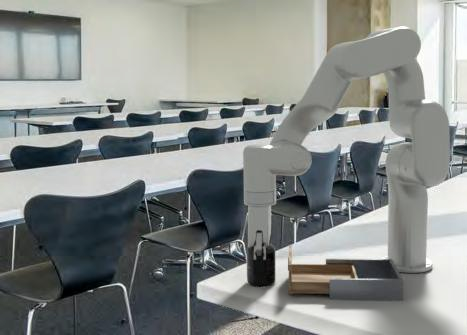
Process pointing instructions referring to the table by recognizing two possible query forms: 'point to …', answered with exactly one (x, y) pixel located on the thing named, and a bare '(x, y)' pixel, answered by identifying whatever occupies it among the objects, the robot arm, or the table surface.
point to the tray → (315, 276)
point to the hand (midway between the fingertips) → (261, 270)
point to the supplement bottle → (270, 256)
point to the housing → (367, 281)
